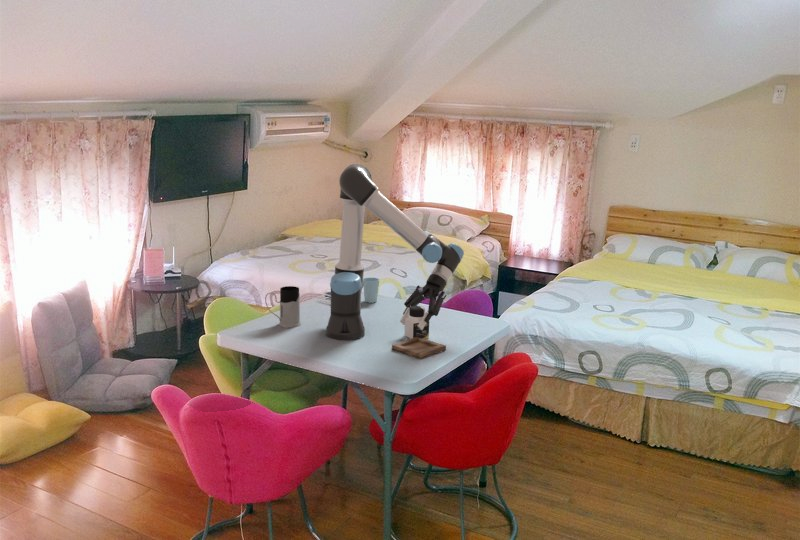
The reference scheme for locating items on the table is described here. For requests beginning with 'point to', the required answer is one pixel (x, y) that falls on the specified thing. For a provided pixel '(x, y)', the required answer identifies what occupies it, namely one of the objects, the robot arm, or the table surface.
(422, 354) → the coaster tray
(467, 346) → the table surface
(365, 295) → the cup
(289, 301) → the black and white mug
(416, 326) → the medicine bottle
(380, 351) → the table surface
